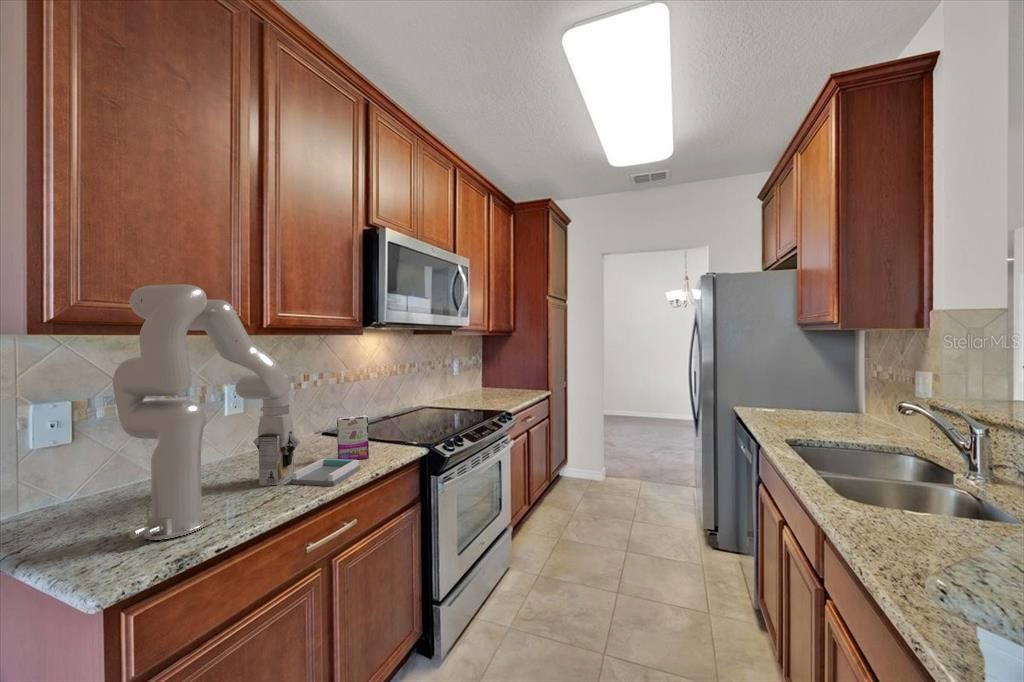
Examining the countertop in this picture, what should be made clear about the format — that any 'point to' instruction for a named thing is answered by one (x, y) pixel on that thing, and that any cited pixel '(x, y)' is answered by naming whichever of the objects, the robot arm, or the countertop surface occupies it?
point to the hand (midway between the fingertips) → (276, 464)
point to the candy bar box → (353, 437)
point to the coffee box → (272, 461)
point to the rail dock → (325, 472)
